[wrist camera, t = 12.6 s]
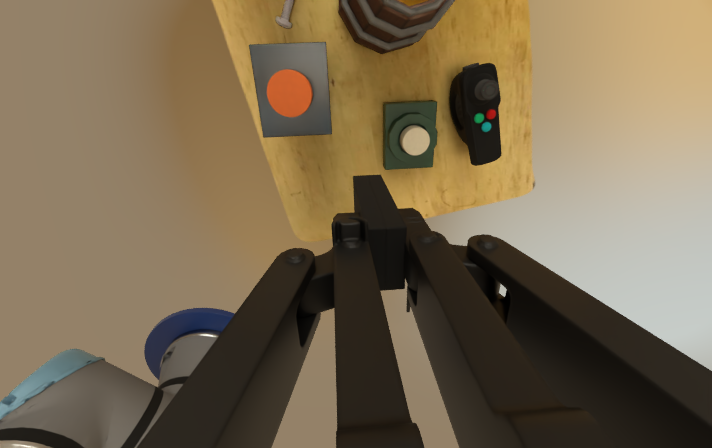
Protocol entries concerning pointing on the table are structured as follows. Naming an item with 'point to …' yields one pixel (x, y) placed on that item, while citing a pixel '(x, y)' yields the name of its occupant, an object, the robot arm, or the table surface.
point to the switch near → (312, 66)
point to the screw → (285, 14)
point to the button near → (289, 93)
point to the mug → (391, 21)
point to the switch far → (396, 121)
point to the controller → (477, 111)
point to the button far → (414, 140)
